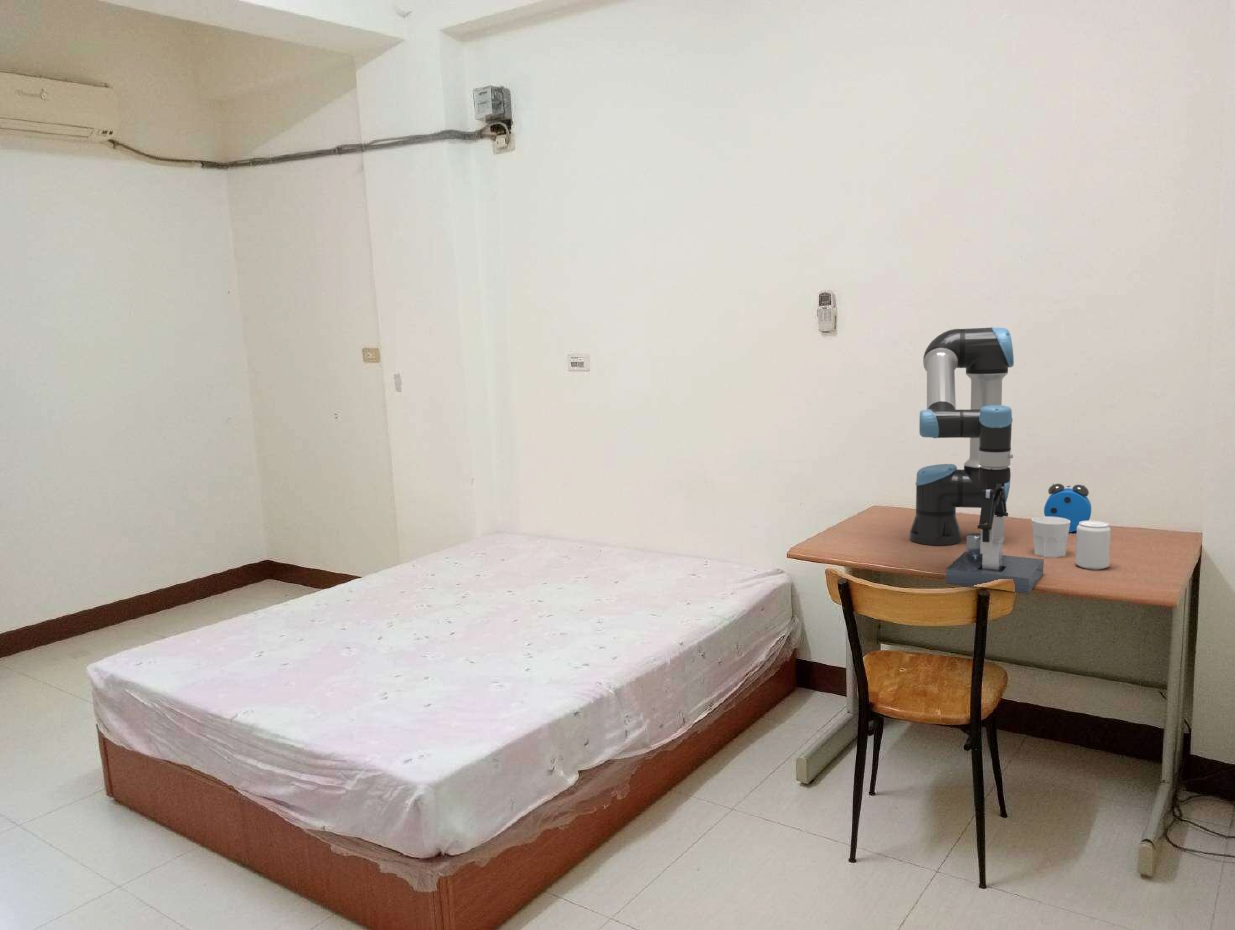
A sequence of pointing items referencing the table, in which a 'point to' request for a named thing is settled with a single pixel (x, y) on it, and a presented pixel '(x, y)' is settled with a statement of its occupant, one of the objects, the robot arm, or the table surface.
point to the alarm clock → (1068, 504)
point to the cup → (1050, 536)
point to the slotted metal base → (1013, 567)
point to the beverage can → (1093, 545)
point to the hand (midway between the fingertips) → (992, 547)
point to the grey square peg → (994, 556)
